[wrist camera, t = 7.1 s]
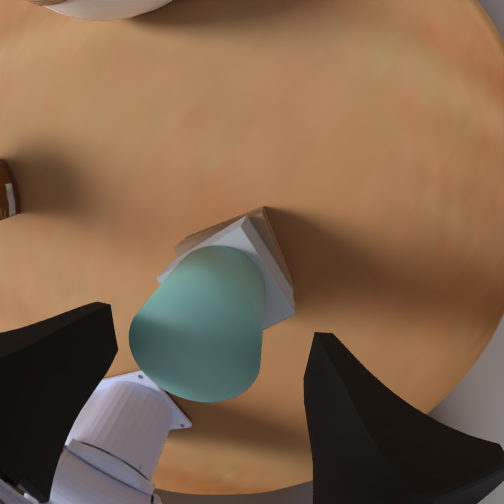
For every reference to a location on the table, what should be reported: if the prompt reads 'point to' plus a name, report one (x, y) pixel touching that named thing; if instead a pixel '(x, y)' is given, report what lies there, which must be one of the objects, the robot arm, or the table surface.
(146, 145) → the table surface
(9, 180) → the food container
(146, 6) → the lidded bowl
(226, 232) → the tower top
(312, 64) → the table surface
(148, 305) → the teal rounded piece
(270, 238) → the tower base
